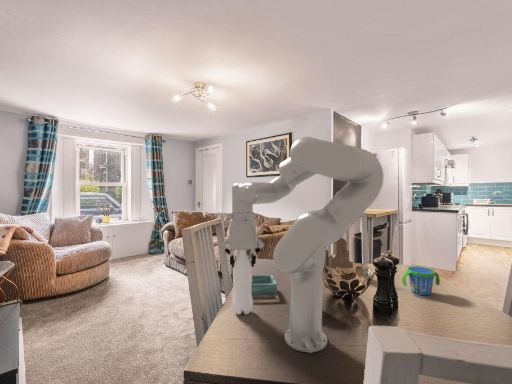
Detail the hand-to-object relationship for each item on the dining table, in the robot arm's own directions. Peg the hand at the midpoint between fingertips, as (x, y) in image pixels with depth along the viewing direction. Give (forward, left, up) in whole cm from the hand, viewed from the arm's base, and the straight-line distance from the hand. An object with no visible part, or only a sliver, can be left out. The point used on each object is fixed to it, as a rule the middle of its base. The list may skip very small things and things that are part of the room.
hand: (242, 265), depth 98 cm
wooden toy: (+40, -53, -17) cm, 69 cm away
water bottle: (0, 0, -17) cm, 17 cm away
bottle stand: (+15, -9, -17) cm, 25 cm away
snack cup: (+11, -79, -17) cm, 81 cm away
